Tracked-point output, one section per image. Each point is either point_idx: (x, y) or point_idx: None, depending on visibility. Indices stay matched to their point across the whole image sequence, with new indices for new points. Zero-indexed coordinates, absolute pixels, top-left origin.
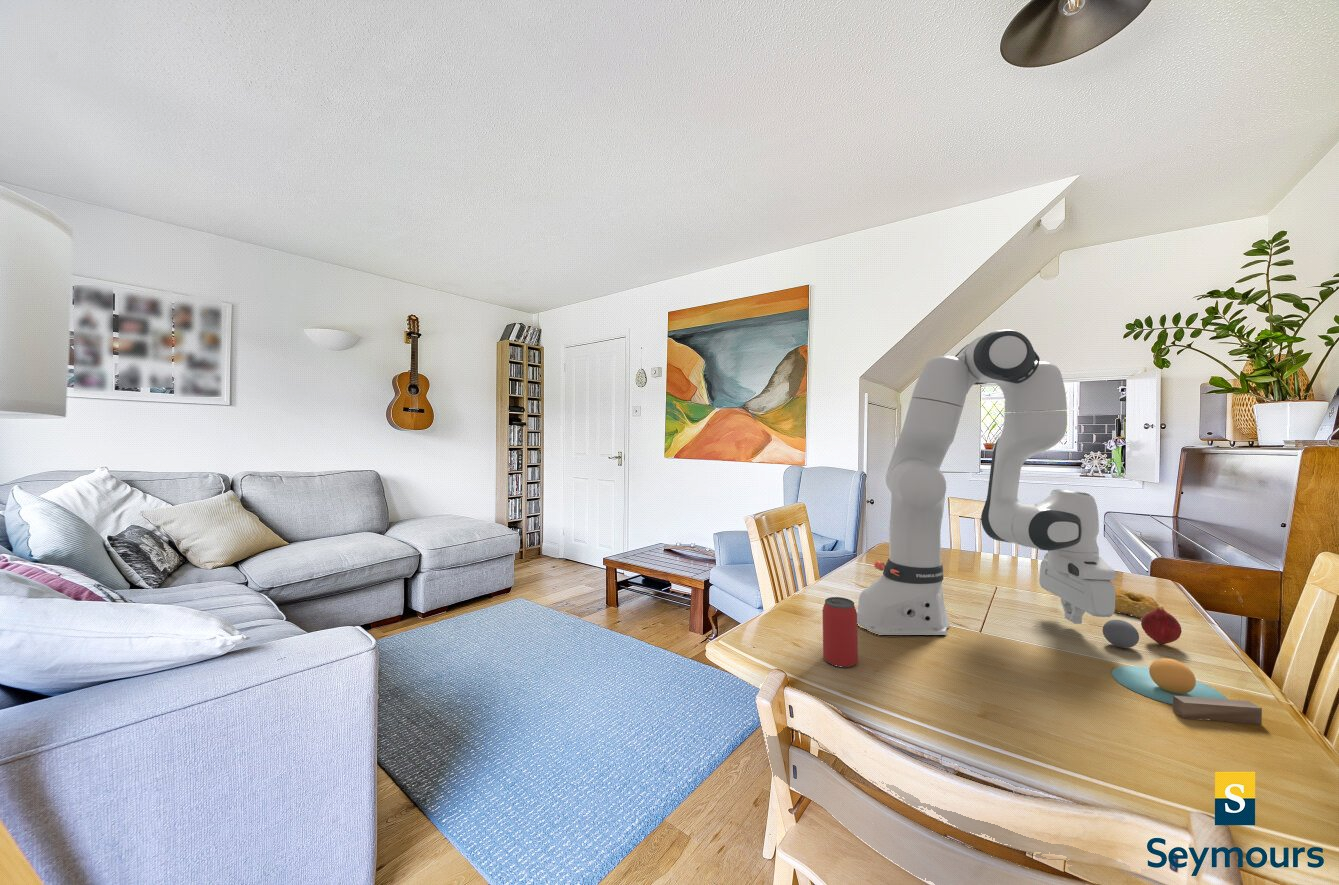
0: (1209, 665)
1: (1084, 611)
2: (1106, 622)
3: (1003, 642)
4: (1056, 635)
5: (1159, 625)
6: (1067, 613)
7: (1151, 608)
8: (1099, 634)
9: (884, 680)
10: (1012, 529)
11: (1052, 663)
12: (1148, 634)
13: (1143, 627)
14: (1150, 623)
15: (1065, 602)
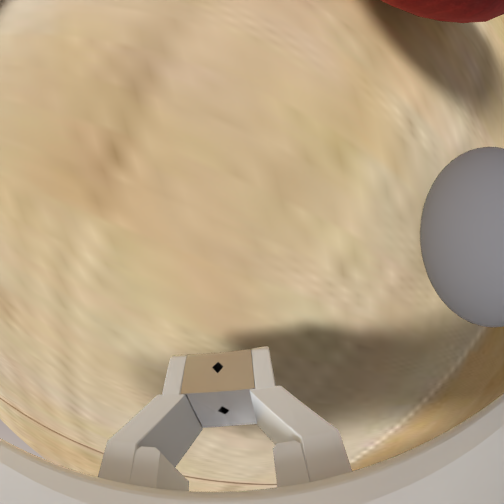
0: (494, 18)
1: (327, 425)
2: (495, 323)
3: (373, 460)
4: (332, 402)
5: None
6: (215, 422)
7: None
8: (291, 228)
9: None
10: None
11: (464, 402)
12: (424, 17)
13: (430, 8)
14: (498, 5)
15: (185, 487)
